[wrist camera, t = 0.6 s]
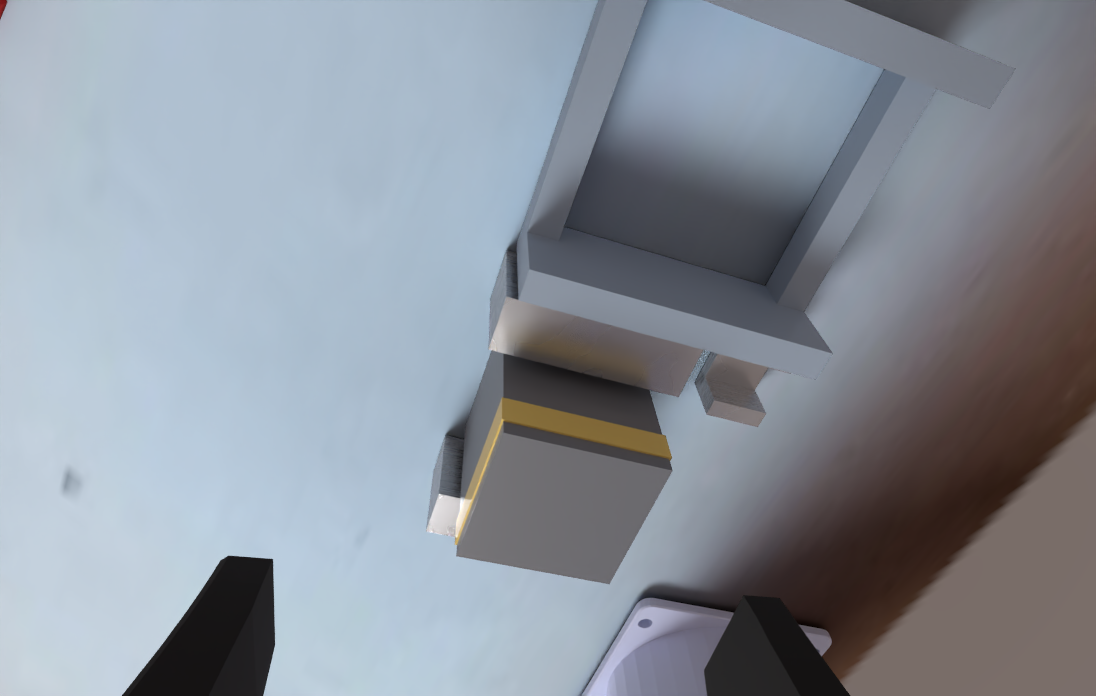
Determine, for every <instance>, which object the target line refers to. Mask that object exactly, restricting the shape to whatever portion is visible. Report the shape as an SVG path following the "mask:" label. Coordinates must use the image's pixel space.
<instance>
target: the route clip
mask: <svg viewBox="0 0 1096 696" xmlns="http://www.w3.org/2000/svg"><path fill="white" fill-rule="evenodd" d="M767 368H769V367H766V366H762V365H758V364H754V363H751V362H747V361H743V360H740V359H736V358H732V357H728V356H725V355H721V354H717V353H713V352H711V353H710V355H709V357H708V359H707V361H706V362H705V364H704V366H703V368H702V370H701V372H700V374H699V376H698V377H697V379H696V381H695V385H696V388H697V390H698V393H699V396H700V398H701V401H702V404H703V406H704V409H705V412H706V414H707V415H711V416H715V417H719V418H723V419H727V420H732V421H736V422H740V423H744V424H748V425H752V426H756V427H758V426H759V424H760V423H761V421H762V419H763V418H764V416H765V415H766V412H765V410H764V408H763V406H762V404H761V402H760V400H759V398H758V396H757V394H756V392H755V389H756V387H757V385H758V384H759V382H760V380H761V379H762V377H763V375H764V373H765V372H766V370H767ZM771 369H773V368H771ZM775 370H777V369H775ZM779 371H781V370H779ZM783 372H784V371H783ZM786 373H788V372H786ZM790 374H791V373H790Z"/></svg>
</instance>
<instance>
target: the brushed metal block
mask: <svg viewBox="0 0 1096 696" xmlns="http://www.w3.org/2000/svg"><path fill="white" fill-rule="evenodd" d="M488 350H492V351H496V352H500V353H504V354H508V355H512V356H516V357H520V358H524V359H528V360H532V361H536V362H540V363H544V364H548V365H552V366H556V367H560V368H564V369H568V370H572V371H576V372H580V373H584V374H588V375H592V376H596V377H600V378H604V379H608V380H612V381H616V382H620V383H624V384H628V385H632V386H636V387H640V388H644V389H648V390H652V391H656V392H660V393H664V394H668V395H672V396H676V397H679V395H680V393H681V391H682V390H683V388H684V386H685V384H686V382H687V380H688V378H689V376H690V374H691V372H692V371H693V369H694V367H695V365H696V363H697V361H698V359H699V357H700V355H701V354H702V352H703V350H702V349H698V348H695V347H691V346H687V345H683V344H680V343H676V342H672V341H668V340H665V339H661V338H657V337H653V336H650V335H646V334H642V333H639V332H635V331H631V330H627V329H624V328H620V327H616V326H612V325H609V324H605V323H601V322H597V321H594V320H590V319H586V318H582V317H579V316H575V315H571V314H567V313H564V312H560V311H556V310H552V309H549V308H545V307H541V306H538V305H534V304H530V303H526V302H523V301H519V300H518V271H517V253H515V252H511V251H508V250H506V253H505V256H504V259H503V262H502V265H501V268H500V271H499V274H498V277H497V280H496V283H495V286H494V289H493V292H492V295H491V298H490V319H489V347H488ZM463 452H464V439H460V438H455V437H451V436H446V435H445V438H444V441H443V444H442V447H441V450H440V453H439V456H438V459H437V462H436V465H435V468H434V471H433V479H432V487H431V495H430V503H429V511H428V520H427V528H426V531H427V532H432V533H437V534H442V535H447V536H453V537H455V534H456V520H457V518H458V515H459V510H460V496H461V481H462V467H463Z"/></svg>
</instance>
